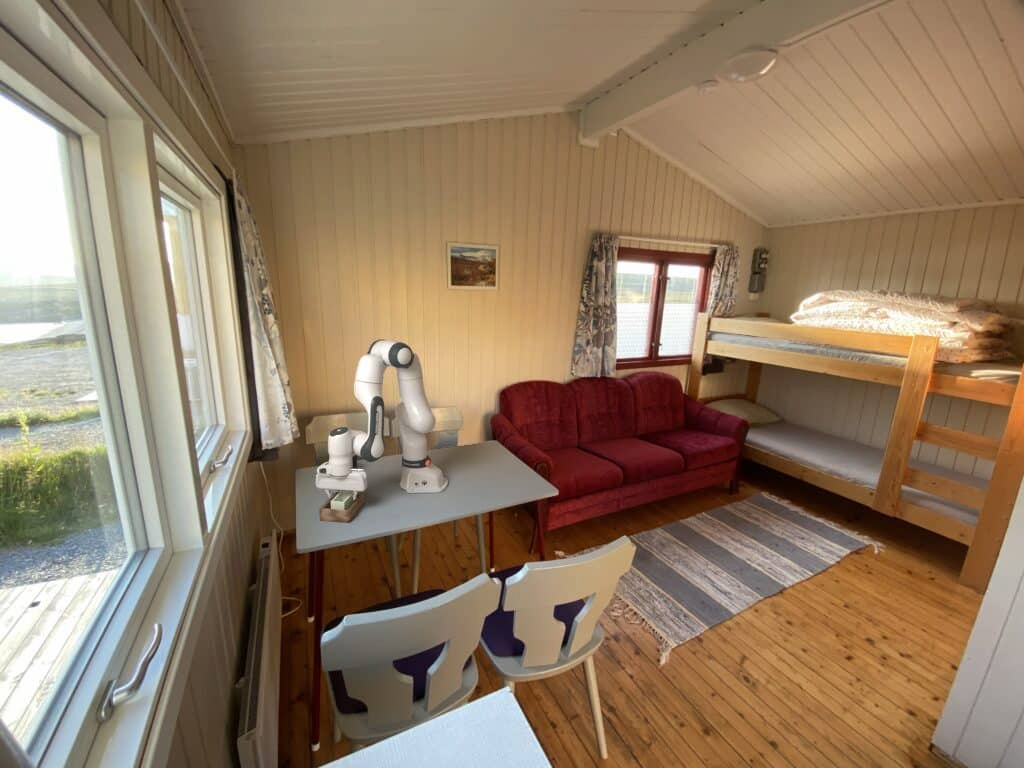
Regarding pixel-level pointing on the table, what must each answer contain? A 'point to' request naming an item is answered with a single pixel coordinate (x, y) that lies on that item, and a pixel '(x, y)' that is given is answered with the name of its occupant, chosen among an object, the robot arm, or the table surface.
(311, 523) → the table surface
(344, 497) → the sage crate
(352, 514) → the walnut crate
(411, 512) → the table surface
